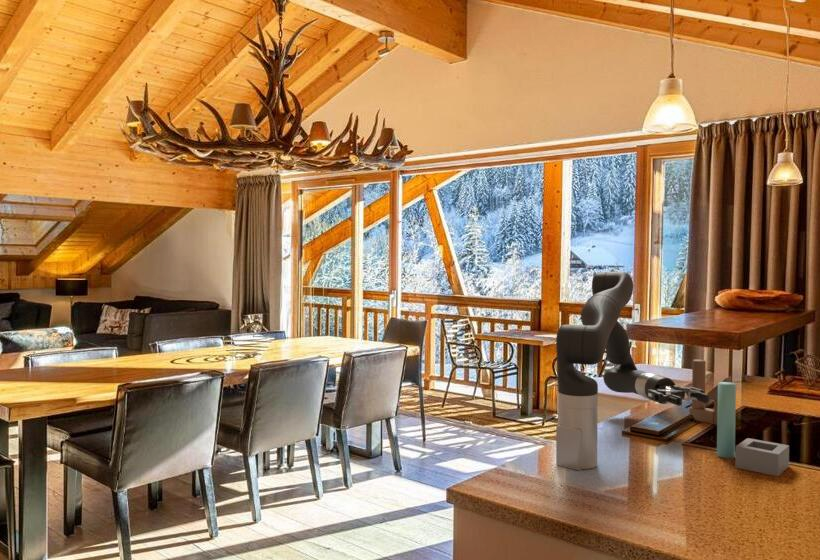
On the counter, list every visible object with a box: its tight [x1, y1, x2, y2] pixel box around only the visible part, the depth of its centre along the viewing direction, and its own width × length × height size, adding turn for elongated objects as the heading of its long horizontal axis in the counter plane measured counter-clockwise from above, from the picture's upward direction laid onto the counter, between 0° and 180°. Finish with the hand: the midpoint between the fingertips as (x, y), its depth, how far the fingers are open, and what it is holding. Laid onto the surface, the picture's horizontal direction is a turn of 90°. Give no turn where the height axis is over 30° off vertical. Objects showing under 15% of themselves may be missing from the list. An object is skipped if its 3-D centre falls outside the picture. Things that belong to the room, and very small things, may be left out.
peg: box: [716, 381, 737, 459], centre depth 160 cm, size 4×4×18 cm
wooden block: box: [688, 359, 732, 426], centre depth 192 cm, size 4×11×18 cm, turn 42°
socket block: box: [734, 437, 790, 477], centre depth 152 cm, size 9×9×5 cm
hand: (694, 400), depth 171 cm, fingers open, 8 cm apart
